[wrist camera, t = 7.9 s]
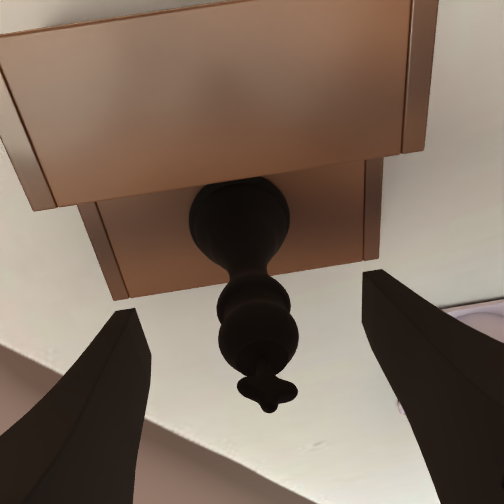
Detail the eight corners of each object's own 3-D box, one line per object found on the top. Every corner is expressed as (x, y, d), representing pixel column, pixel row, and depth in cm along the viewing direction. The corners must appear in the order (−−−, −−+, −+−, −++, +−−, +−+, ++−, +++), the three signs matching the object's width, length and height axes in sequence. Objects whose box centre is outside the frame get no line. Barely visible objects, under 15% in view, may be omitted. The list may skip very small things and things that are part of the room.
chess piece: (202, 159, 17) (200, 325, 8) (303, 186, 18) (395, 358, 9) (179, 250, 19) (157, 459, 10) (270, 270, 20) (320, 473, 11)
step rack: (359, 230, 23) (410, 304, 17) (123, 267, 22) (97, 354, 17) (363, -20, 17) (443, -31, 11) (40, 28, 16) (-44, 41, 11)
